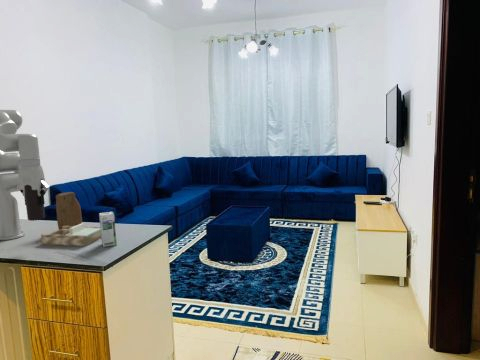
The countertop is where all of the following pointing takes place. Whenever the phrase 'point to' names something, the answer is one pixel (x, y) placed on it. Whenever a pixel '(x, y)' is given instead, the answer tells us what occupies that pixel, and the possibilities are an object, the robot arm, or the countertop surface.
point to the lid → (82, 230)
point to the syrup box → (107, 229)
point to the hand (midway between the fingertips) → (34, 204)
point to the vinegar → (33, 204)
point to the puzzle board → (68, 238)
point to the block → (68, 210)
